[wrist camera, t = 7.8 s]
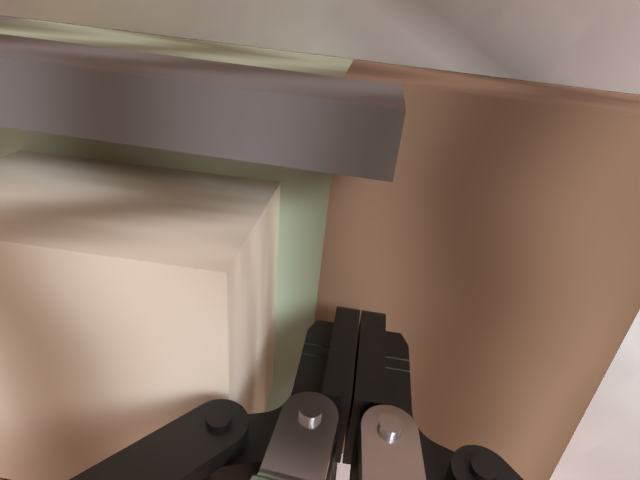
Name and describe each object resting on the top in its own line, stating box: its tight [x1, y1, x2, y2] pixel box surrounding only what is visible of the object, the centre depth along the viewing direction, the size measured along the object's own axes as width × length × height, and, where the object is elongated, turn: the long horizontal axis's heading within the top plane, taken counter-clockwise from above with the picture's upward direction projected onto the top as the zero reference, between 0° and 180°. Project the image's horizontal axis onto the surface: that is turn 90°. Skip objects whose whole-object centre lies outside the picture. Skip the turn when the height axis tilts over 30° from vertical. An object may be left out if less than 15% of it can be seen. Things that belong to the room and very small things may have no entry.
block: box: [0, 150, 281, 480], centre depth 13 cm, size 8×8×5 cm
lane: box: [0, 15, 640, 480], centre depth 16 cm, size 33×14×7 cm, turn 84°
